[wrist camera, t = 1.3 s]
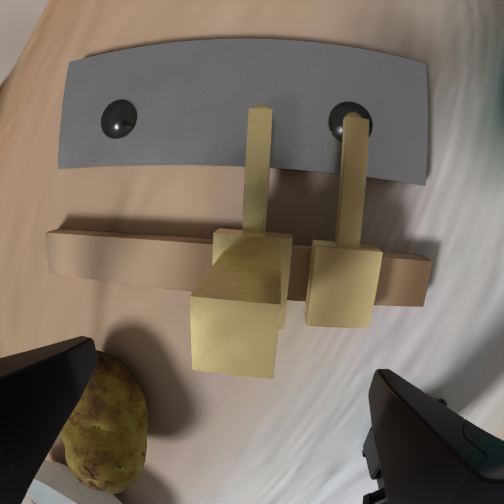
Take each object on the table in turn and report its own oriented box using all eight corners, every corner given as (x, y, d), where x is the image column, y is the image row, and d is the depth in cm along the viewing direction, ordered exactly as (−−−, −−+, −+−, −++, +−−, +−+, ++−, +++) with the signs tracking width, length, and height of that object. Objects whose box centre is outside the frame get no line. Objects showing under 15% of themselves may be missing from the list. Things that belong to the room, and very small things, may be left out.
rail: (434, 134, 16) (459, 128, 13) (412, 307, 19) (431, 328, 16) (59, 123, 18) (30, 119, 15) (61, 275, 21) (35, 289, 18)
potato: (186, 380, 22) (151, 455, 14) (147, 457, 25) (121, 514, 18) (94, 329, 22) (35, 383, 14) (78, 418, 25) (41, 467, 18)
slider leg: (298, 108, 16) (313, 55, 8) (283, 313, 19) (283, 399, 11) (227, 104, 16) (186, 54, 8) (218, 307, 19) (181, 387, 11)
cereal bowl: (41, 424, 27) (12, 458, 20) (158, 495, 28) (142, 538, 21) (40, 470, 31) (21, 497, 24) (129, 524, 32) (116, 554, 25)
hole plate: (419, 67, 15) (426, 63, 14) (418, 184, 17) (426, 185, 16) (76, 65, 17) (68, 61, 16) (66, 168, 19) (56, 168, 18)
